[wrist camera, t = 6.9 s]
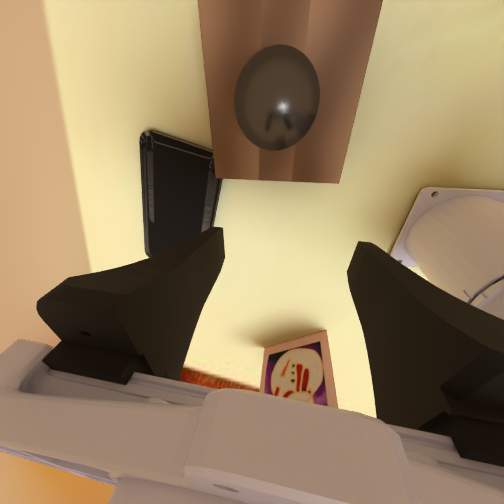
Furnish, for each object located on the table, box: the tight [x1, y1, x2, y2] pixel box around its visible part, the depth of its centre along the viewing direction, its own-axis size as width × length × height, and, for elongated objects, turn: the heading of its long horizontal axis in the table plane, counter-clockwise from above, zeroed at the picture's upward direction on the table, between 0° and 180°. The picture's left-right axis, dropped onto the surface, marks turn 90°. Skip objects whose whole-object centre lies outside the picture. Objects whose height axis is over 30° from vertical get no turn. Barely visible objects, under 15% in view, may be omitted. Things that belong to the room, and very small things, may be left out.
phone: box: [139, 130, 223, 258], centre depth 22 cm, size 8×1×15 cm
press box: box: [198, 0, 383, 184], centre depth 14 cm, size 9×9×4 cm
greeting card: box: [259, 330, 338, 408], centre depth 27 cm, size 11×7×15 cm, turn 129°
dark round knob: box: [234, 44, 320, 151], centre depth 13 cm, size 4×4×7 cm
